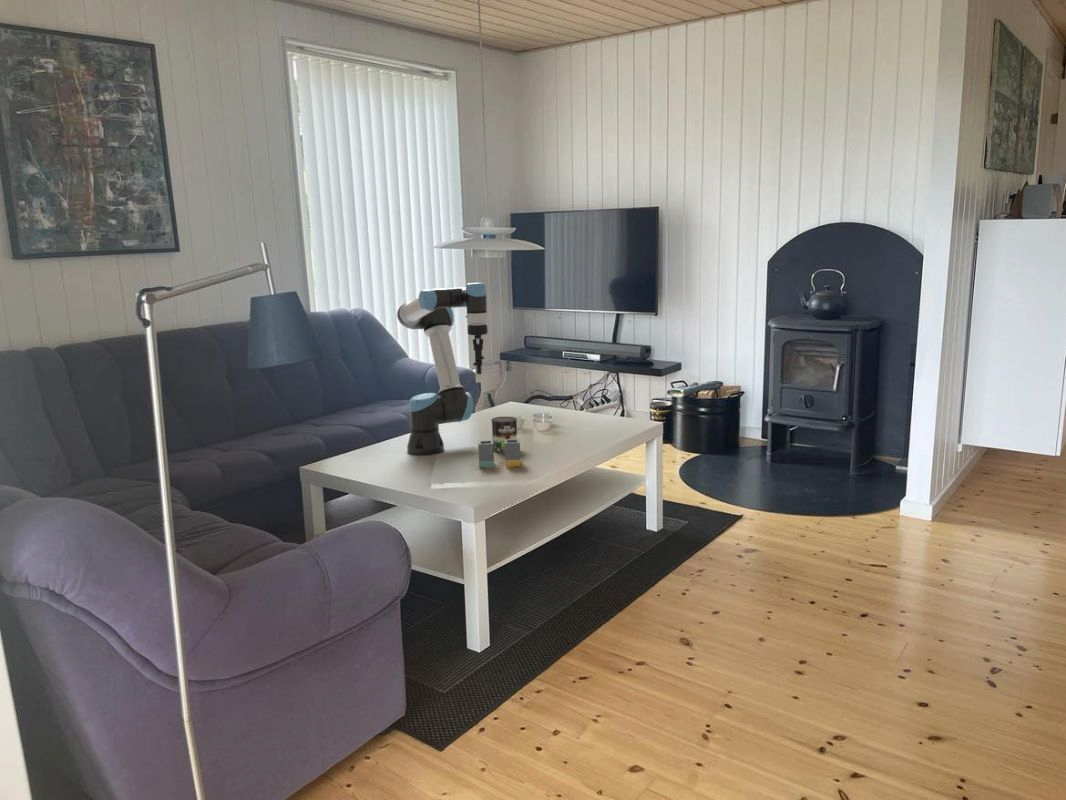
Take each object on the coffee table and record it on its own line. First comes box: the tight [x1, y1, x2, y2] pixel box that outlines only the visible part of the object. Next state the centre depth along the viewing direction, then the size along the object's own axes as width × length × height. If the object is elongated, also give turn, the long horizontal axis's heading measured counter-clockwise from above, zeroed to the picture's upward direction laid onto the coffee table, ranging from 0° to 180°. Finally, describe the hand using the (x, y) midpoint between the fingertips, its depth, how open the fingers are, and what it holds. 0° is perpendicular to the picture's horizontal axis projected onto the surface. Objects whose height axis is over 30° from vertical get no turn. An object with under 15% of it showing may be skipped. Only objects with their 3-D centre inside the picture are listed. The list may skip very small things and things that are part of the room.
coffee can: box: [490, 416, 518, 453], centre depth 331 cm, size 10×10×14 cm
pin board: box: [475, 459, 525, 471], centre depth 308 cm, size 18×10×8 cm, turn 93°
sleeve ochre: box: [504, 438, 521, 467], centre depth 308 cm, size 6×6×9 cm
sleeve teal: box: [477, 439, 495, 468], centre depth 308 cm, size 6×6×9 cm
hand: (479, 379), depth 313 cm, fingers open, 13 cm apart
